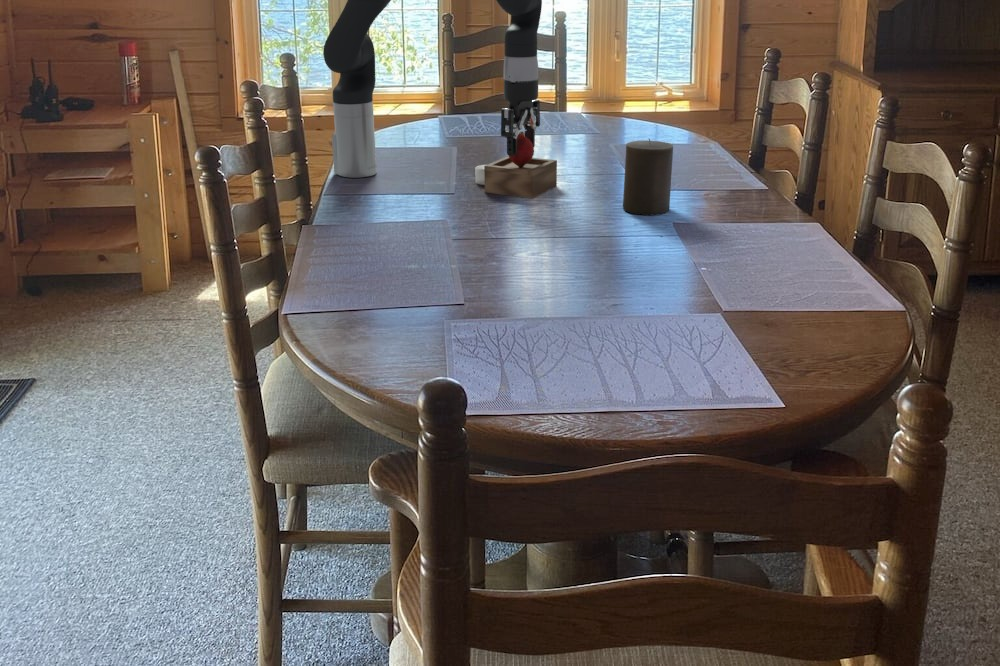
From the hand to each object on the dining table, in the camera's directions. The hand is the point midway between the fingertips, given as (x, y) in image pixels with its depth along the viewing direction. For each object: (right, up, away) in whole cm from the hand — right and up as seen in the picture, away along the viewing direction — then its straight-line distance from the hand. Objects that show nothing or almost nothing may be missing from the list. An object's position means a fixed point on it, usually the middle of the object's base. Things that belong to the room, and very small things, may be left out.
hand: (520, 151), depth 235 cm
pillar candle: (+26, -15, -13) cm, 33 cm away
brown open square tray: (0, -8, +3) cm, 9 cm away
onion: (0, -4, +1) cm, 4 cm away
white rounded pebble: (-7, -5, +10) cm, 14 cm away
